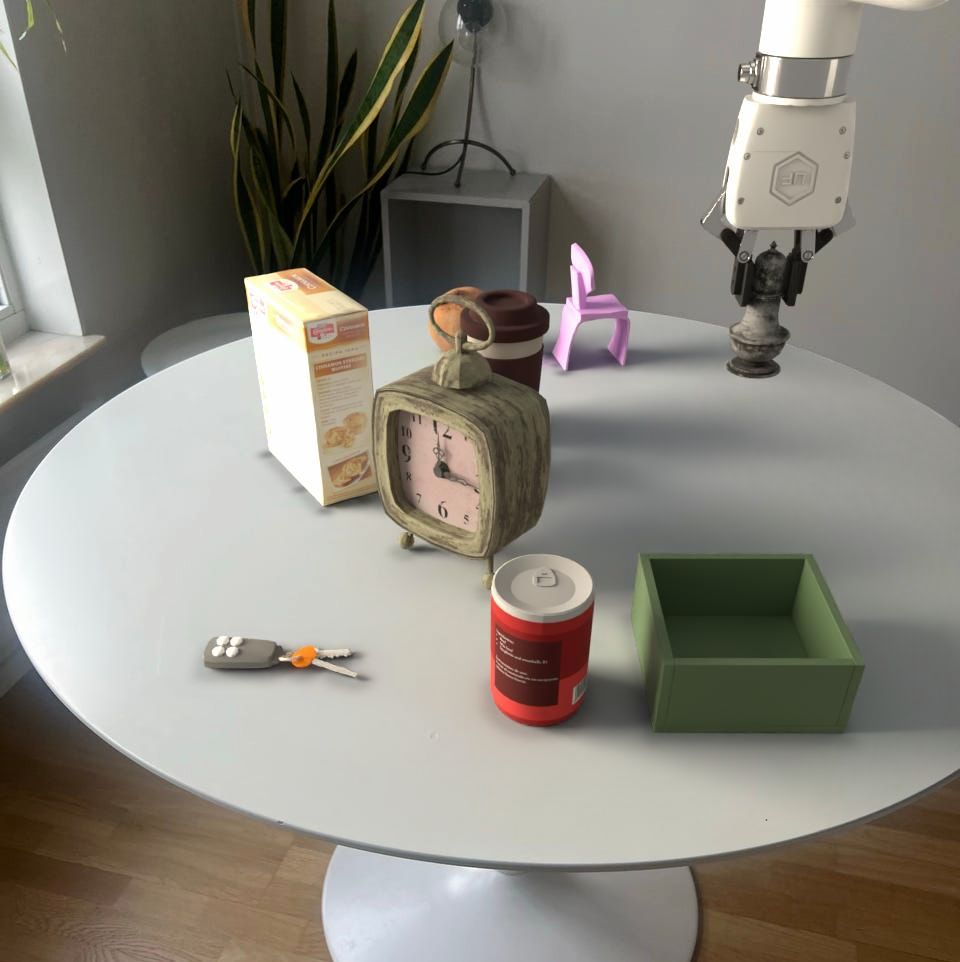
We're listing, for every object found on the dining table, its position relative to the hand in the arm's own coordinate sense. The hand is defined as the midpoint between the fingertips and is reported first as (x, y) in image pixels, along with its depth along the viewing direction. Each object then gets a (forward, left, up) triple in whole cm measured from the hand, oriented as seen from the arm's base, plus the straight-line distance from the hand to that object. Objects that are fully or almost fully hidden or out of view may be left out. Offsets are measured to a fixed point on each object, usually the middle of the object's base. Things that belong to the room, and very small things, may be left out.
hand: (764, 299), depth 91 cm
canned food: (+22, +33, -20) cm, 45 cm away
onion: (+29, -37, -20) cm, 51 cm away
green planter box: (+6, +30, -20) cm, 37 cm away
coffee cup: (+24, -15, -20) cm, 35 cm away
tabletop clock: (+28, +13, -20) cm, 37 cm away
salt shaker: (0, 0, -7) cm, 7 cm away
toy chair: (+12, -35, -20) cm, 42 cm away
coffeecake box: (+44, -4, -20) cm, 49 cm away
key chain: (+43, +29, -20) cm, 56 cm away
